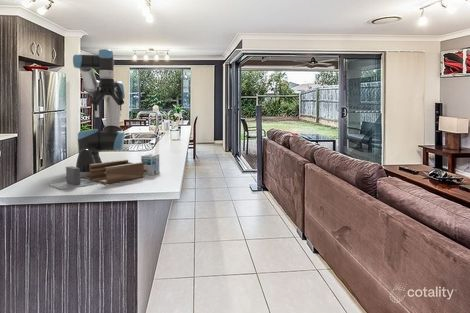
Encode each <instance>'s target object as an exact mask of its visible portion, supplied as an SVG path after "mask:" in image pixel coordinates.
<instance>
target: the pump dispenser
mask: <svg viewBox="0 0 470 313" xmlns="http://www.w3.org/2000/svg"><path fill="white" fill-rule="evenodd" d="M91 152H92V149H91V150H88V149H83V150H81V151H80V153H78V155H77V158H76V163H75V167H77V168H80V178H82V179H83V178H84V179H85V178H90V173H89V164H95V161H94V158H93V155H92V153H91Z"/></svg>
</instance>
